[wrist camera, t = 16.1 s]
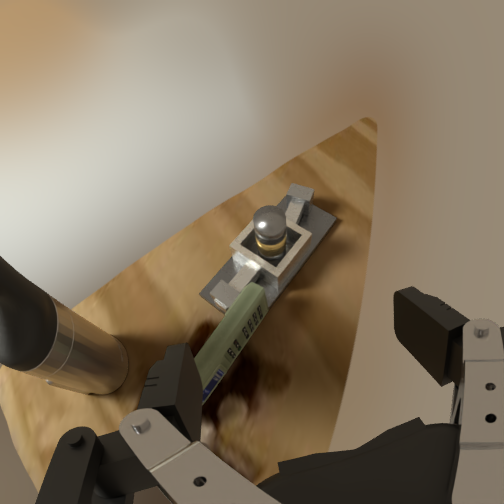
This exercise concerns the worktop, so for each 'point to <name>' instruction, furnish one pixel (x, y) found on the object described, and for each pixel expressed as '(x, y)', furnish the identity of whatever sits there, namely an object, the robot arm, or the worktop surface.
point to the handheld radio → (230, 336)
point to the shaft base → (260, 271)
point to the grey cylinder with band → (270, 234)
